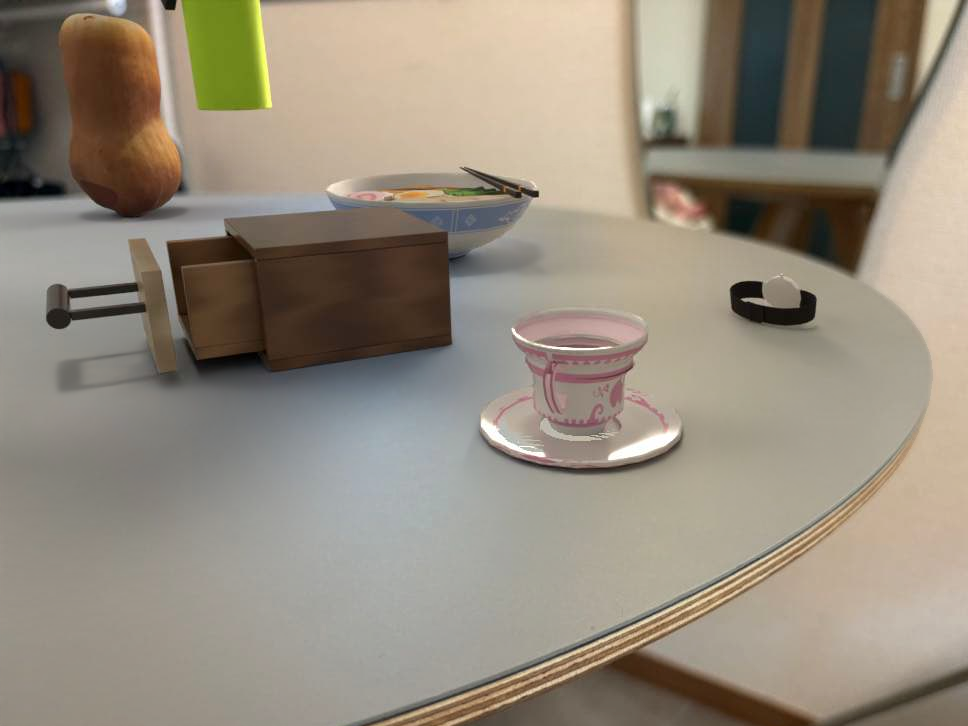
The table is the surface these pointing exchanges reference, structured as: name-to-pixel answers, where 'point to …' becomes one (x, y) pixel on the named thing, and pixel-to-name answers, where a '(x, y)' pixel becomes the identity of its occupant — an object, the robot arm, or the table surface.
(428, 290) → the cabinet
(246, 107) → the soap dispenser
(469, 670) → the table surface
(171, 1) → the robot arm
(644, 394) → the teacup
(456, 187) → the ramen bowl
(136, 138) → the butternut squash
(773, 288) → the watch
